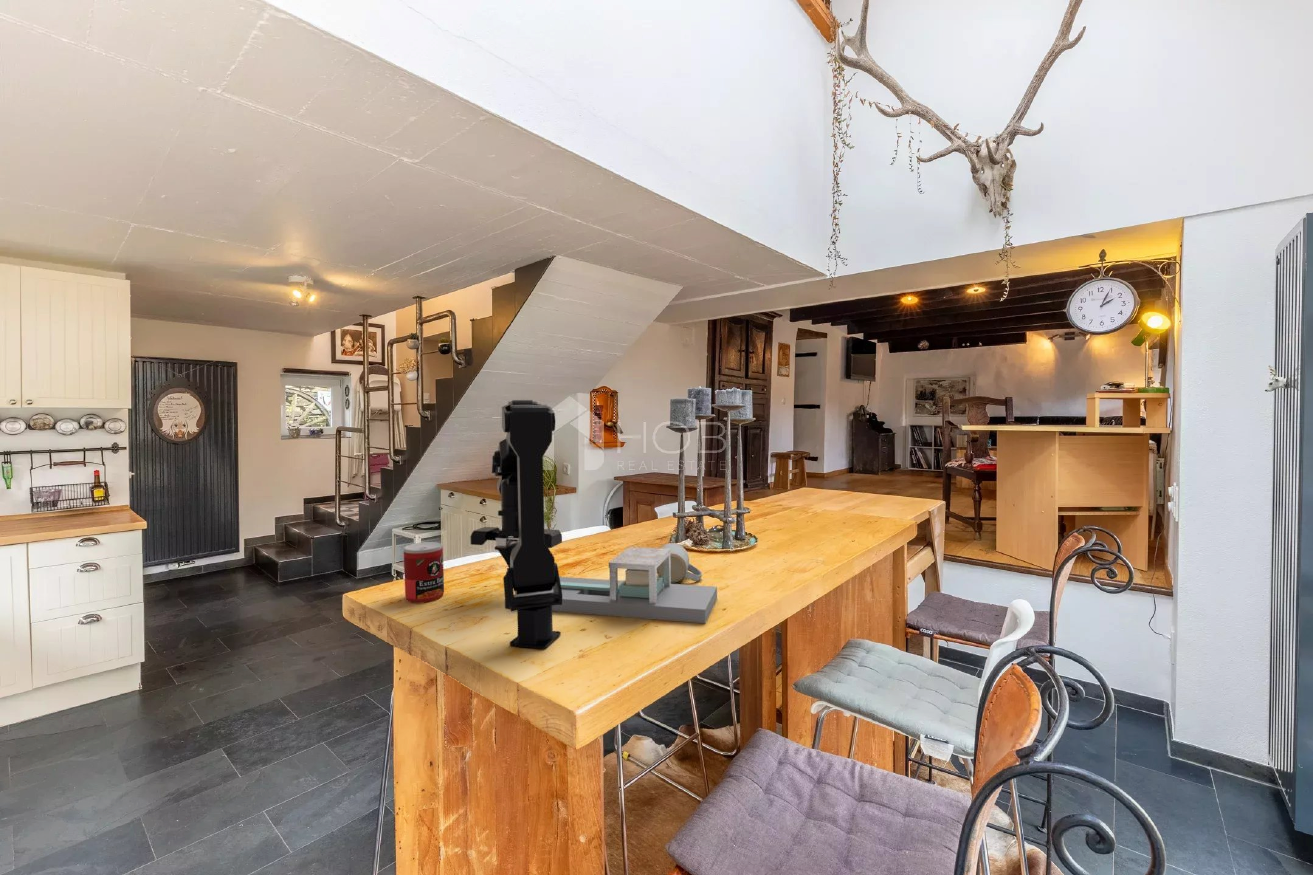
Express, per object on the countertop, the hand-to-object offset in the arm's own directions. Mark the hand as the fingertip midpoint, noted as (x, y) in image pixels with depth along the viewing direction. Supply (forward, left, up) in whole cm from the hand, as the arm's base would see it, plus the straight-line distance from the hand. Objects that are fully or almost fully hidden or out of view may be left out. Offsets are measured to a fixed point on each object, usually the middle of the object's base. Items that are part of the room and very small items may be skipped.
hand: (517, 577), depth 118 cm
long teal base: (0, -18, -1) cm, 18 cm away
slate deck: (0, -22, -4) cm, 23 cm away
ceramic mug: (+19, -31, -4) cm, 36 cm away
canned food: (-5, +19, -4) cm, 20 cm away
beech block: (0, -27, -1) cm, 28 cm away
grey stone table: (0, -27, -1) cm, 28 cm away
